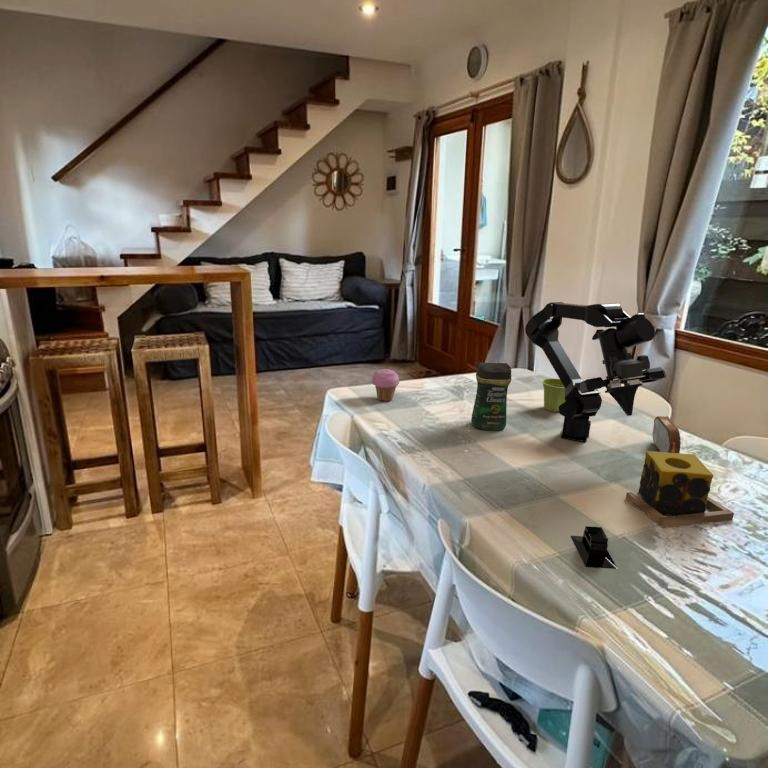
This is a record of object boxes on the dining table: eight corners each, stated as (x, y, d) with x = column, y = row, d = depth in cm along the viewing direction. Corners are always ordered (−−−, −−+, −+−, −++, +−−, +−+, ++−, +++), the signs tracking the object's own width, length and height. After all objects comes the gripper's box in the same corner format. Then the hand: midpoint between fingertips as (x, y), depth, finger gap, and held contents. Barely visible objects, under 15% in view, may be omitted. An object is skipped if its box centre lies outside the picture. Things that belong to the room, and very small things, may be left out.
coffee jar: (474, 431, 147) (480, 366, 142) (468, 420, 155) (474, 359, 149) (509, 431, 148) (516, 367, 142) (501, 421, 156) (507, 359, 150)
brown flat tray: (625, 498, 114) (626, 492, 113) (690, 492, 117) (691, 486, 117) (662, 527, 103) (664, 520, 103) (732, 519, 107) (734, 512, 107)
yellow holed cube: (685, 495, 116) (695, 453, 113) (705, 520, 107) (716, 475, 104) (636, 490, 118) (645, 449, 115) (652, 514, 108) (661, 470, 105)
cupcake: (398, 404, 166) (399, 373, 163) (370, 403, 166) (371, 372, 163) (398, 395, 175) (399, 366, 172) (371, 394, 175) (372, 365, 172)
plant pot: (573, 407, 169) (576, 381, 166) (565, 416, 161) (569, 389, 158) (543, 401, 173) (547, 376, 171) (534, 409, 166) (538, 383, 163)
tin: (678, 464, 131) (685, 433, 129) (664, 463, 132) (671, 431, 129) (660, 440, 145) (666, 412, 143) (648, 439, 146) (654, 410, 143)
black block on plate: (563, 533, 101) (567, 512, 100) (602, 535, 101) (606, 514, 100) (582, 575, 89) (586, 551, 88) (627, 578, 89) (631, 554, 88)
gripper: (587, 352, 123) (602, 419, 120) (668, 338, 122) (685, 405, 119) (573, 361, 134) (586, 422, 131) (648, 349, 133) (663, 410, 130)
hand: (629, 415), depth 128 cm, fingers closed
